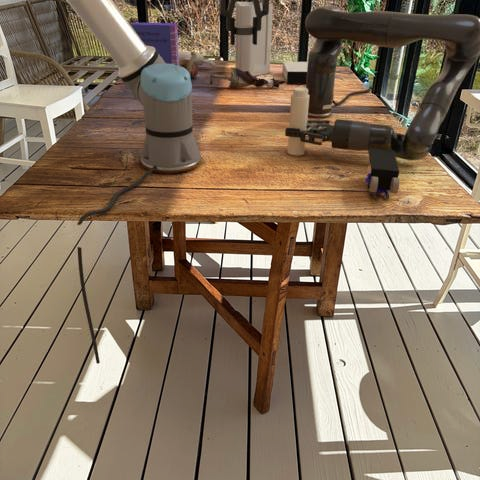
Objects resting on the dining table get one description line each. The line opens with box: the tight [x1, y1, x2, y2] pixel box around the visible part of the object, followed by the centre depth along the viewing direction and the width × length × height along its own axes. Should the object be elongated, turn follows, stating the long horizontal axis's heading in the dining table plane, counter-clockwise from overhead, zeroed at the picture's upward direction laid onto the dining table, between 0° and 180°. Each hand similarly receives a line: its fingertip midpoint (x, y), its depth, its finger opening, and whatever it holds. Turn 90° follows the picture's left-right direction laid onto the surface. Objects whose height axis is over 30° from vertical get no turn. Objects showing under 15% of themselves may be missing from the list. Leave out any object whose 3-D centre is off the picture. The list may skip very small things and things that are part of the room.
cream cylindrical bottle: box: [286, 86, 310, 157], centre depth 127 cm, size 5×5×17 cm
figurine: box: [209, 66, 287, 89], centre depth 190 cm, size 24×8×30 cm
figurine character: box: [365, 149, 400, 200], centre depth 109 cm, size 7×8×15 cm
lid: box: [235, 25, 254, 36], centre depth 127 cm, size 5×5×2 cm
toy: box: [178, 51, 217, 69], centre depth 222 cm, size 24×25×7 cm
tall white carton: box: [234, 1, 274, 77], centre depth 210 cm, size 19×15×28 cm
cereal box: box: [129, 21, 180, 66], centre depth 181 cm, size 17×5×24 cm, turn 86°
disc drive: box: [281, 61, 308, 85], centre depth 207 cm, size 18×22×5 cm
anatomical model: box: [179, 51, 199, 79], centre depth 200 cm, size 13×9×15 cm
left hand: (243, 43), depth 129 cm, fingers closed on lid, 5 cm apart
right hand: (287, 128), depth 128 cm, fingers closed on cream cylindrical bottle, 4 cm apart
